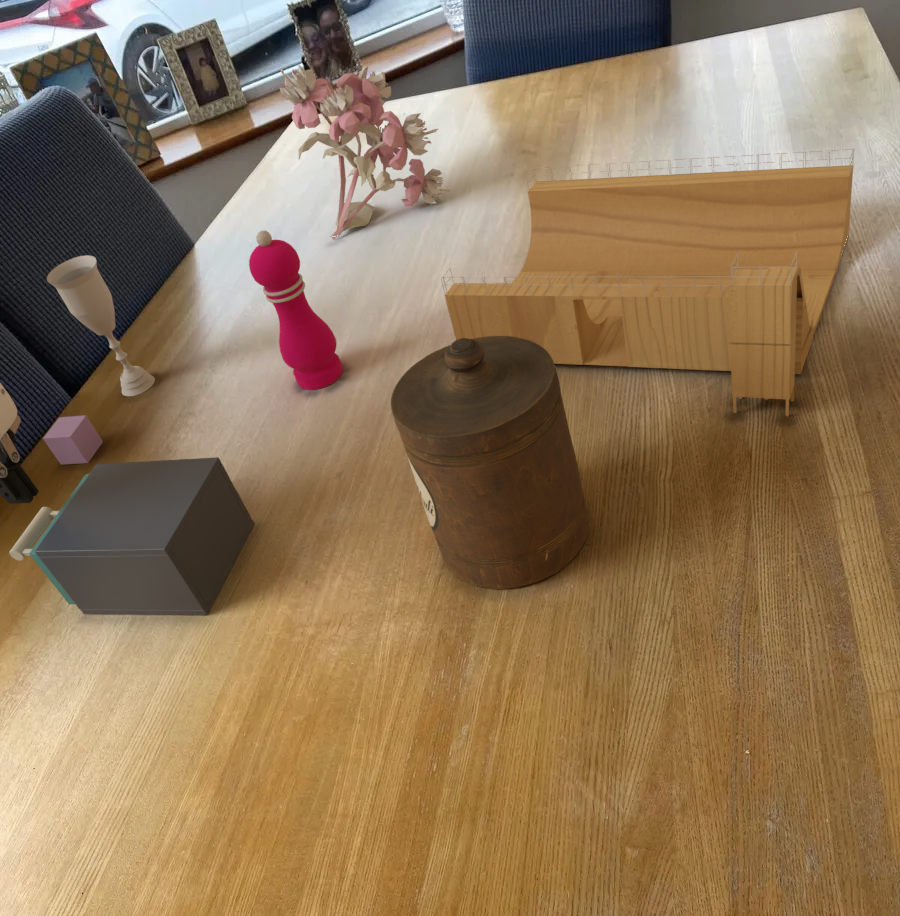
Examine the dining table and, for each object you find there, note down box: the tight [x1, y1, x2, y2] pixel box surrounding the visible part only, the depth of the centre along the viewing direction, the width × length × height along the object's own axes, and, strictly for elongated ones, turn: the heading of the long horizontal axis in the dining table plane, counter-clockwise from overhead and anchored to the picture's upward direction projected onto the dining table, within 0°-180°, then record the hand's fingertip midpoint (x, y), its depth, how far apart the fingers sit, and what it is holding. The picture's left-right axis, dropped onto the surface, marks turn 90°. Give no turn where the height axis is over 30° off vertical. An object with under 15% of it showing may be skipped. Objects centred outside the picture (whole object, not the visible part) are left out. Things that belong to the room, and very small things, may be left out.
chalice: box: [46, 255, 156, 397], centre depth 127 cm, size 7×7×18 cm
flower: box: [279, 64, 451, 241], centre depth 145 cm, size 20×22×25 cm
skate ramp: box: [440, 148, 855, 417], centre depth 108 cm, size 40×35×16 cm
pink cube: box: [42, 414, 104, 465], centre depth 123 cm, size 4×4×4 cm
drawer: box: [8, 473, 90, 605], centre depth 102 cm, size 21×12×8 cm, turn 77°
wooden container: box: [390, 336, 590, 590], centre depth 85 cm, size 15×15×22 cm
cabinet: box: [35, 456, 255, 616], centre depth 100 cm, size 16×14×10 cm
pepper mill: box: [248, 230, 343, 391], centre depth 116 cm, size 7×7×20 cm
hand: (24, 498), depth 100 cm, fingers closed
